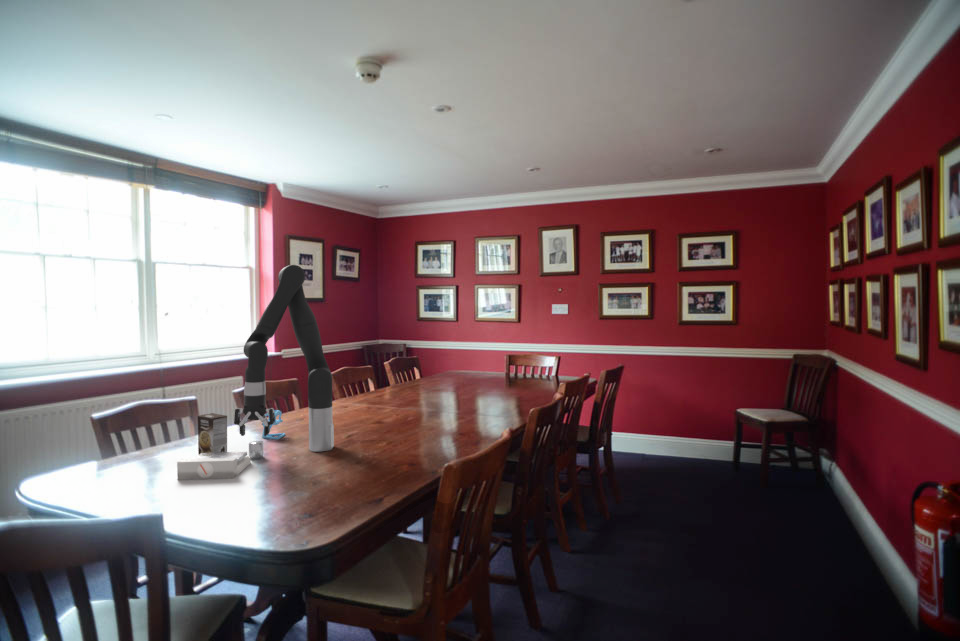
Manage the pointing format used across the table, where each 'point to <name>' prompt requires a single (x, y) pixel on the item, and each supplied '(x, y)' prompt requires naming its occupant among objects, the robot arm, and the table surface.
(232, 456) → the platter
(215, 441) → the coffee box
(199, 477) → the scale
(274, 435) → the chair
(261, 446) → the small grey jar
